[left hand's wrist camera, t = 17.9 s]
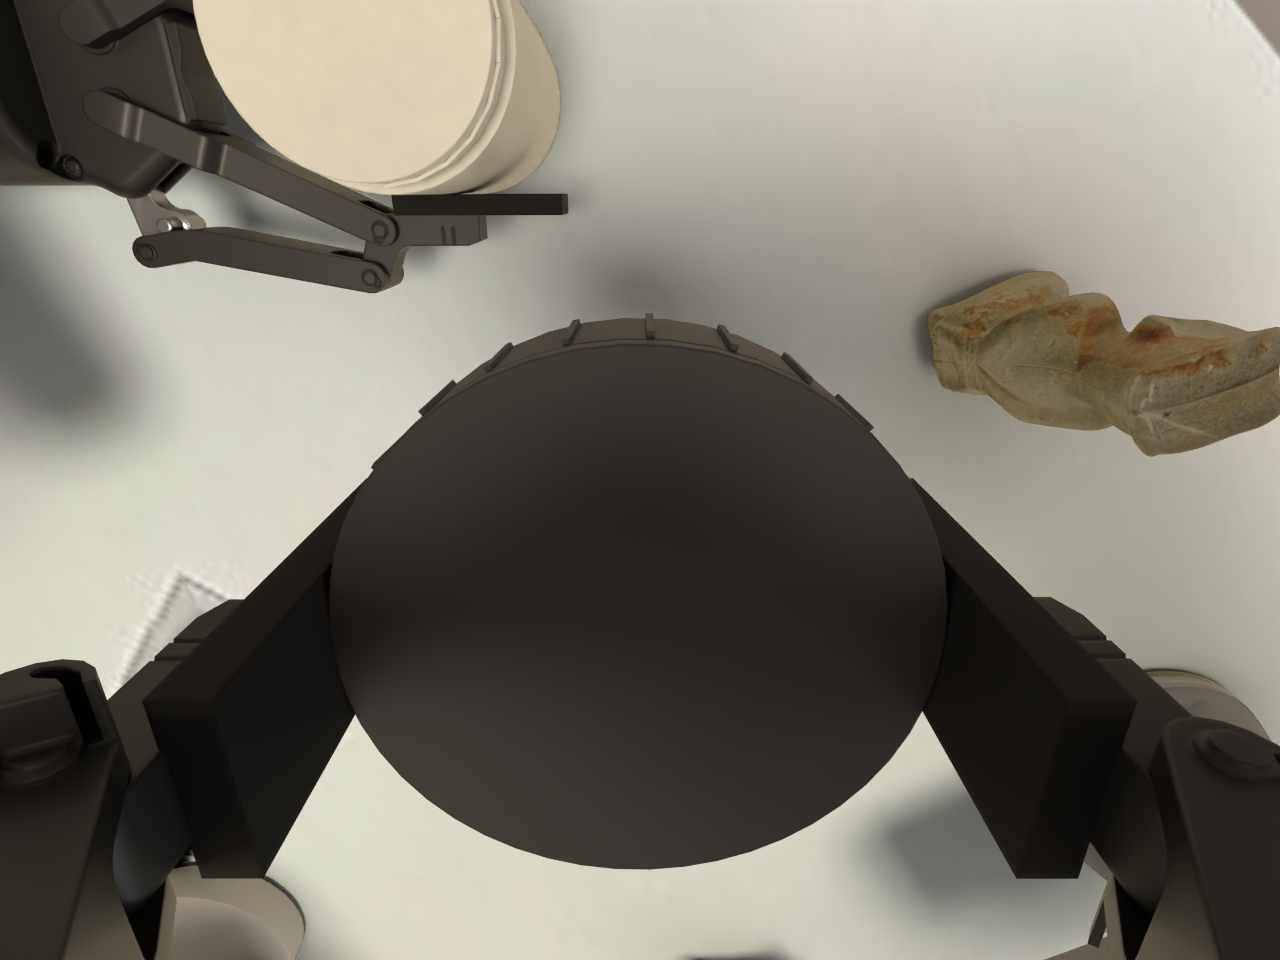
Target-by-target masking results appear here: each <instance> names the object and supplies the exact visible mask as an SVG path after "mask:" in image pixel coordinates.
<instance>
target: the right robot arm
mask: <svg viewBox="0 0 1280 960" xmlns="http://www.w3.org/2000/svg"><path fill="white" fill-rule="evenodd" d="M221 125H227V121H226V117H225V112H224V107H223V103H222V101H221V99H220V96H219V94H218V92H217V90H216V87H215V85H214V83H213V80H212V68H211V65H210V63H209V61H208V59H207V56H206V54H205V51H204V48H203V45H202V42H201V39H200V36H199V32H198V28H197V23H196V18H195V14H194V8H193V0H0V185H5V186H49V185H95V186H99V187H102V188H105V189H107V190H109V191H111V192H113V193H114V194H116V195H119V196H121V197H125V198H127V200H128V203H129V205H130V207H131V210H132V212H133V214H134V217H135V219H136V221H137V224H138V226H139V228H140V231H141V233H142V235H143V236H141V237H139V238H137V239H136V240H135V241H134V243H133V247H132V249H133V253H134V256H135V257H136V259H137V261H139V262H140V263H141V264H142V265H144V266H146V267H148V268H157V267H164V266H170V265H176V264H183V263H189V262H195V261H199V262H205V263H210V264H215V265H221V266H226V267H232V268H237V269H242V270H248V271H253V272H259V273H264V274H269V275H275V276H280V277H286V278H291V279H296V280H302V281H307V282H313V283H318V284H323V285H329V286H334V287H340V288H345V289H350V290H356V291H361V292H367V293H377V292H380V291H383V290H385V289H388V288H391V287H393V286H395V285H397V284H399V283H400V282H401V281H402V280H403V276H404V270H403V262H404V258H405V255H406V252H407V251H408V249H409V248H410V247H411V246H469V245H472V244H475V243H478V242H480V241H482V240H485V239H487V238H488V237H487V225H486V215H563V214H567V213H568V195H567V194H428V195H392V202H393V209H392V208H390V207H388V206H385V205H383V204H381V203H379V202H377V201H374V200H372V199H370V198H368V197H366V196H363V195H361V194H359V193H357V192H355V191H352V190H350V189H348V188H346V187H344V186H341V185H339V184H337V183H335V182H333V181H330V180H328V179H326V178H324V177H322V176H320V175H317V174H315V173H313V172H311V171H309V170H306V169H304V168H302V167H300V166H298V165H295V164H293V163H291V162H289V161H287V160H284V159H282V158H280V157H278V156H276V155H273V154H271V153H269V152H267V151H265V150H262V149H260V148H258V147H257V146H256V145H255V144H253V143H251V142H249V141H247V140H245V139H243V138H241V137H238V136H236V135H234V134H232V133H230V132H228V131H225V130H223V129H221ZM193 167H194V168H197V169H199V170H202V171H205V172H209V173H213V174H216V175H219V176H221V177H224V178H226V179H228V180H230V181H233V182H235V183H237V184H239V185H242V186H244V187H246V188H248V189H251V190H253V191H255V192H257V193H260V194H262V195H264V196H266V197H269V198H271V199H273V200H275V201H278V202H280V203H282V204H284V205H287V206H289V207H291V208H293V209H296V210H298V211H300V212H302V213H305V214H307V215H309V216H311V217H314V218H316V219H318V220H320V221H323V222H325V223H327V224H329V225H332V226H334V227H336V228H338V229H341V230H343V231H345V232H347V233H350V234H352V235H354V236H356V237H359V238H361V239H363V240H365V241H366V244H365V250H364V252H359V251H354V250H349V249H343V248H338V247H333V246H328V245H322V244H317V243H312V242H307V241H301V240H296V239H291V238H285V237H280V236H275V235H270V234H264V233H259V232H254V231H249V230H243V229H238V228H230V227H210V228H206V223H205V221H204V220H203V219H202V218H201V217H199V216H198V214H196V213H195V212H194V211H191V210H188V209H180V208H177V207H175V206H174V205H172V204H171V203H170V202H169V201H168V199H167V198H166V196H165V194H166V193H167V192H168V191H169V190H170V189H171V188H172V187H173V186H174V185H175V184H176V183H177V182H178V181H179V180H180V179H181V178H183V177H184V176H185V175H186V174H187V173H188V172H189V171H190V170H191V169H192V168H193Z"/></svg>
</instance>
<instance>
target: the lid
mask: <svg viewBox="0 0 1280 960" xmlns="http://www.w3.org/2000/svg"><path fill="white" fill-rule="evenodd" d="M419 413H420V414H421V415H422V417H421V418H420V419H419V420H417V421H416V422H415V423H414V424H413V425H412V426H411V427H410V428H409V429H408V430H407V432H406V433H405V434H404V435H402V436H401V437H400V438H399V439H398V440H397V441H396V442H395V443H394V444H393V445H392V446H391V447H390V448H389V449H388V450H387V451H386V452H385V453H384V454H383V455H382V456H381V457H380V458H378V459H377V460H376V461H375V462H374V464H373V465H372V467H371V468H372V469H374V470H373V471H372V473H371V474H370V475H369V477H368V478H367V480H366V481H365V483H364V484H363V485H362V487H361V489H360V491H359V493H358V495H357V497H356V499H355V501H354V503H353V505H352V507H351V509H350V511H349V513H348V515H347V517H346V519H345V521H344V524H343V527H342V530H341V534H340V537H339V540H338V543H337V547H336V550H335V553H334V556H333V563H332V570H331V577H330V584H329V591H328V602H329V622H330V629H331V634H332V639H333V644H334V649H335V654H336V659H337V664H338V669H339V673H340V677H341V682H342V685H343V688H344V691H345V694H346V696H347V698H348V700H349V702H350V704H351V706H352V708H353V710H354V712H355V714H356V716H357V718H358V720H359V722H360V724H361V725H362V727H363V728H364V730H365V731H366V733H367V734H368V736H369V737H370V739H371V740H372V742H373V743H374V745H375V746H376V747H377V749H378V750H379V752H380V753H381V754H382V755H383V756H384V757H385V759H386V760H387V761H388V762H389V763H390V764H391V765H392V767H393V768H394V769H395V770H396V771H397V772H398V773H399V774H400V776H401V777H402V778H404V779H405V780H406V781H407V782H408V783H409V784H410V785H411V786H413V787H414V788H415V789H416V790H417V791H418V792H419V793H420V794H422V795H423V796H424V797H425V798H426V799H427V800H429V801H430V802H432V803H433V804H434V805H436V806H437V807H439V808H440V809H442V810H443V811H444V812H446V813H447V814H449V815H450V816H452V817H453V818H454V819H456V820H458V821H460V822H462V823H463V824H465V825H467V826H469V827H471V828H473V829H474V830H476V831H478V832H480V833H482V834H483V835H486V836H488V837H490V838H493V839H495V840H497V841H500V842H502V843H504V844H507V845H509V846H512V847H514V848H517V849H520V850H523V851H526V852H530V853H533V854H536V855H539V856H542V857H546V858H549V859H554V860H559V861H564V862H569V863H574V864H578V865H585V866H594V867H603V868H612V869H661V868H673V867H685V866H691V865H696V864H702V863H708V862H713V861H719V860H722V859H726V858H729V857H733V856H737V855H740V854H744V853H748V852H751V851H754V850H756V849H759V848H761V847H764V846H766V845H769V844H772V843H774V842H777V841H779V840H782V839H784V838H786V837H788V836H790V835H792V834H794V833H796V832H798V831H800V830H802V829H804V828H806V827H808V826H810V825H812V824H813V823H815V822H816V821H818V820H819V819H821V818H823V817H824V816H826V815H827V814H829V813H830V812H832V811H833V810H835V809H836V808H838V807H839V806H841V805H842V804H843V803H845V802H846V801H847V800H848V799H849V798H851V797H852V796H853V795H854V794H855V793H857V792H858V791H859V790H860V789H862V788H863V787H864V786H865V785H866V784H867V783H868V782H869V781H870V780H871V779H872V778H873V777H874V776H875V775H876V774H877V773H878V772H879V771H880V770H881V769H882V768H883V767H884V766H885V765H886V764H887V763H888V761H889V760H890V759H891V758H892V757H893V755H894V754H895V752H896V751H897V750H898V748H899V747H900V746H901V744H902V743H903V742H904V740H905V739H906V738H907V736H908V735H909V734H910V732H911V730H912V728H913V727H914V725H915V723H916V721H917V719H918V718H919V716H920V714H921V712H922V710H923V709H924V707H925V705H926V703H927V700H928V698H929V695H930V692H931V690H932V687H933V685H934V682H935V679H936V677H937V674H938V671H939V666H940V662H941V657H942V653H943V649H944V644H945V640H946V625H947V611H948V599H947V588H946V577H945V568H944V564H943V560H942V556H941V552H940V548H939V544H938V540H937V536H936V532H935V530H934V528H933V526H932V523H931V521H930V519H929V516H928V514H927V512H926V509H925V507H924V505H923V502H922V500H921V498H920V496H919V495H918V493H917V492H916V490H915V488H914V487H915V485H914V483H913V481H912V480H911V479H910V478H909V477H908V476H907V475H906V474H905V473H904V471H903V469H902V468H901V466H900V465H899V464H898V463H897V462H896V460H895V459H894V458H893V457H892V456H891V455H890V453H889V452H888V451H887V450H886V449H885V448H884V447H883V445H882V444H881V443H880V442H879V441H878V440H877V439H876V437H875V436H874V435H873V434H872V433H871V432H870V431H871V430H872V429H873V428H874V427H873V426H872V425H871V424H870V423H869V422H868V421H867V420H866V419H865V418H864V417H863V416H862V415H860V414H859V413H858V412H857V411H856V410H855V409H854V408H853V407H852V406H851V405H850V404H849V403H848V402H847V401H845V400H844V399H843V398H842V397H841V396H840V395H839V394H837V395H836V396H835V397H834V396H833V395H832V394H830V393H829V392H828V391H827V390H826V389H825V388H823V387H822V386H821V385H820V384H819V383H818V382H816V381H815V380H814V379H813V378H812V377H811V376H810V375H809V374H808V373H807V372H806V371H805V370H804V369H803V368H802V367H801V366H800V365H799V364H798V363H797V362H796V361H795V360H794V359H793V358H792V357H791V356H790V355H788V354H787V353H785V352H784V353H783V355H782V356H779V355H778V354H776V353H775V352H773V351H771V350H769V349H766V348H764V347H762V346H760V345H758V344H755V343H753V342H751V341H749V340H747V339H744V338H742V337H740V336H737V335H734V334H730V333H729V332H728V330H727V329H726V327H725V326H722V325H718V327H717V329H714V328H710V327H707V326H703V325H698V324H692V323H685V322H679V321H672V320H666V319H653V314H649V313H646V319H633V318H623V319H614V320H606V321H597V322H588V323H583V324H580V320H579V319H577V320H573V321H572V323H571V325H570V326H569V327H567V328H563V329H559V330H555V331H551V332H548V333H545V334H543V335H540V336H538V337H535V338H533V339H530V340H528V341H525V342H523V343H520V344H518V345H515V346H513V345H512V343H511V342H510V343H508V344H506V345H505V346H504V347H503V348H502V349H501V350H500V351H499V352H498V353H497V354H496V355H495V356H494V357H493V358H492V359H490V360H488V361H487V362H485V363H483V364H481V365H480V366H479V367H478V368H476V369H475V370H474V371H472V372H471V373H470V374H469V375H467V376H466V377H465V378H463V379H462V380H461V381H460V382H458V383H457V384H456V383H455V381H454V380H452V381H451V382H450V383H449V384H448V385H447V386H445V387H444V388H443V389H442V390H441V391H440V392H439V393H438V394H437V395H436V396H435V397H433V398H432V399H431V400H430V401H429V402H428V403H427V404H426V405H425V406H424V407H423V408H421V409H420V410H419Z"/></svg>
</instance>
